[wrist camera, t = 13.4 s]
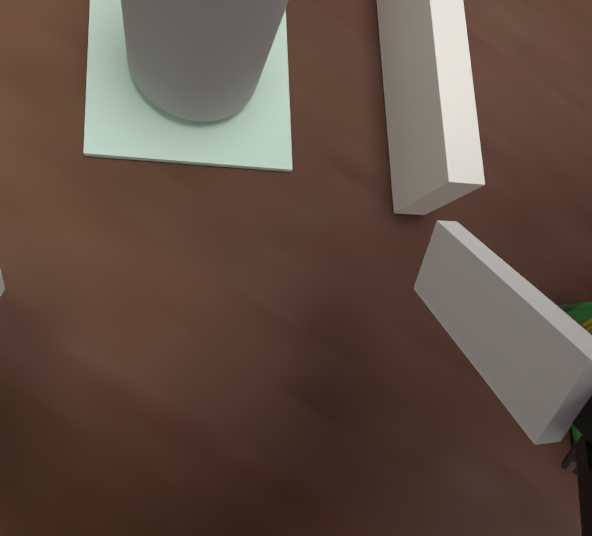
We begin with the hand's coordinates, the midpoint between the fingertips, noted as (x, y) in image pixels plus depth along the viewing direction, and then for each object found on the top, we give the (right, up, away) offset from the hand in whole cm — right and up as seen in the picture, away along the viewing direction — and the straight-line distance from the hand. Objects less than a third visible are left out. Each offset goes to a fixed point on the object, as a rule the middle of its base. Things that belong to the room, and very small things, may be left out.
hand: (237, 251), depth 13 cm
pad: (-3, +10, +9) cm, 14 cm away
